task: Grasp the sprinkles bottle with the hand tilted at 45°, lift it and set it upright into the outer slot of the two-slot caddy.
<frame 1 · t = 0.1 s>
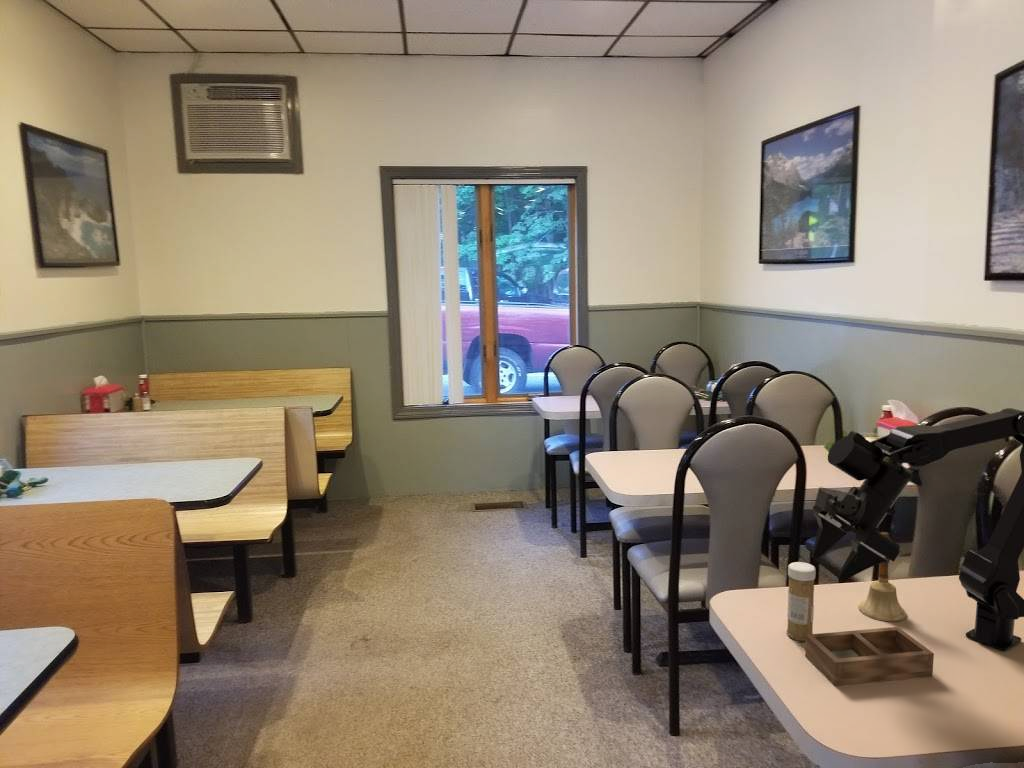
hand: (826, 568, 124), 15 cm above the table, tool tilted 35°, fingers open, 9 cm apart
sprinkles bottle: (799, 636, 130), on the table
hand bell: (881, 612, 139), on the table
slot caddy: (866, 666, 120), on the table
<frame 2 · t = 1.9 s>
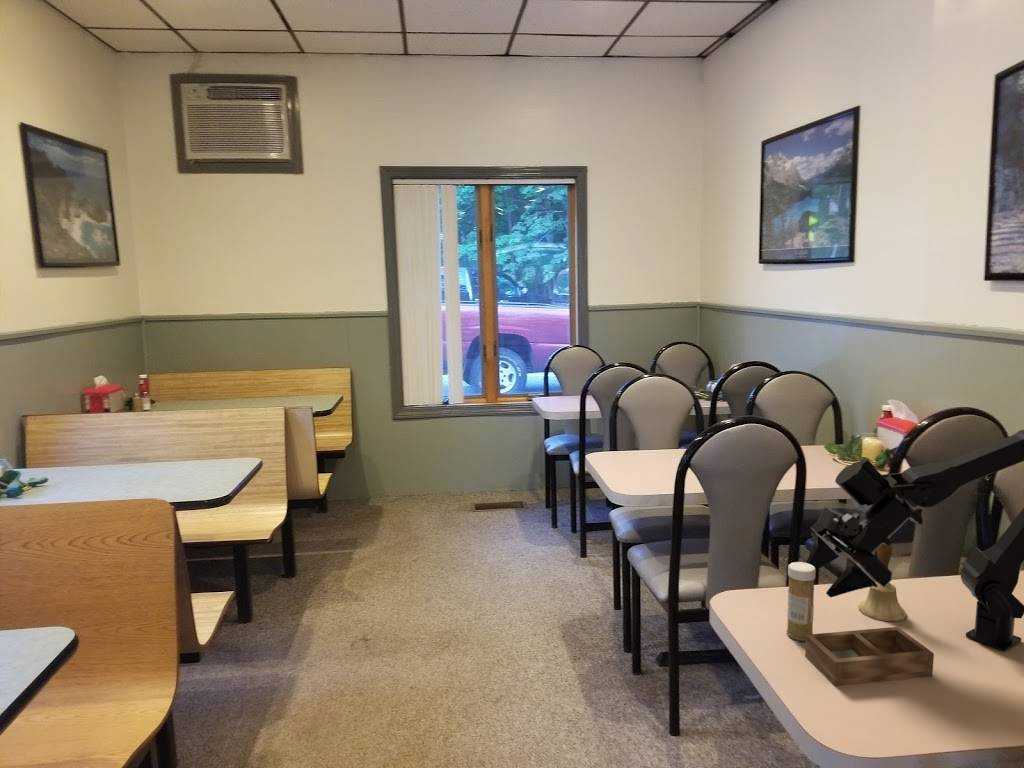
hand: (815, 584, 129), 10 cm above the table, tool tilted 45°, fingers open, 9 cm apart
nothing on the table moved.
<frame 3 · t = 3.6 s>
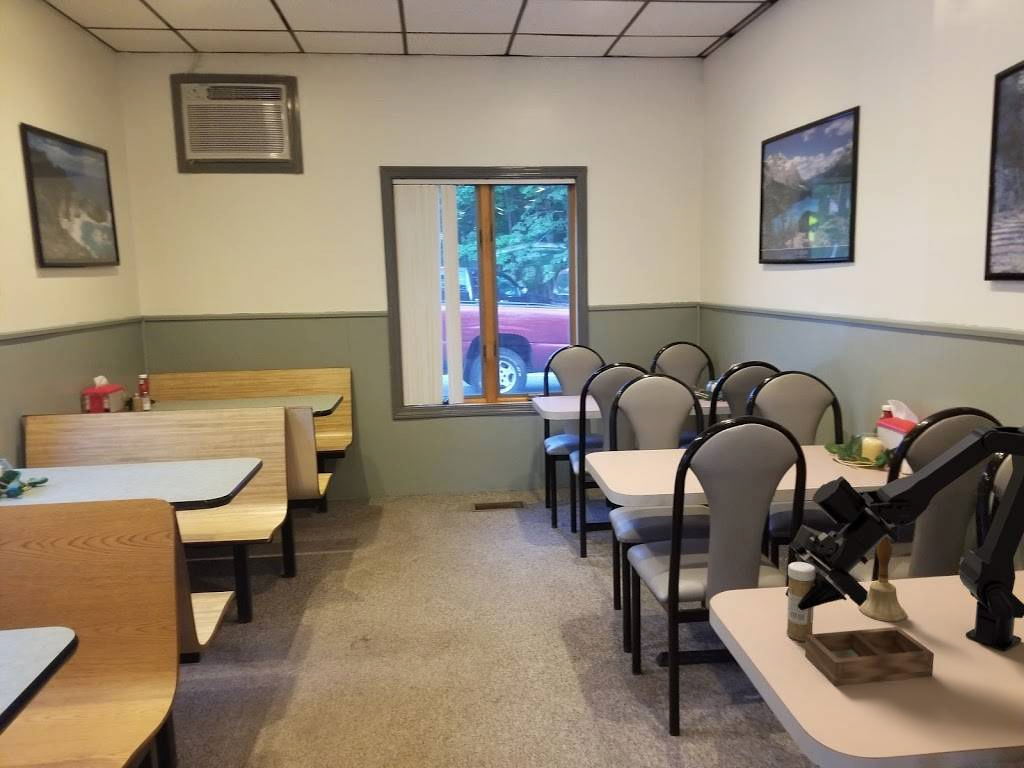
hand: (793, 602, 129), 7 cm above the table, tool tilted 45°, fingers closed on sprinkles bottle, 4 cm apart
sprinkles bottle: (799, 636, 130), on the table, touching gripper
everything else where it was.
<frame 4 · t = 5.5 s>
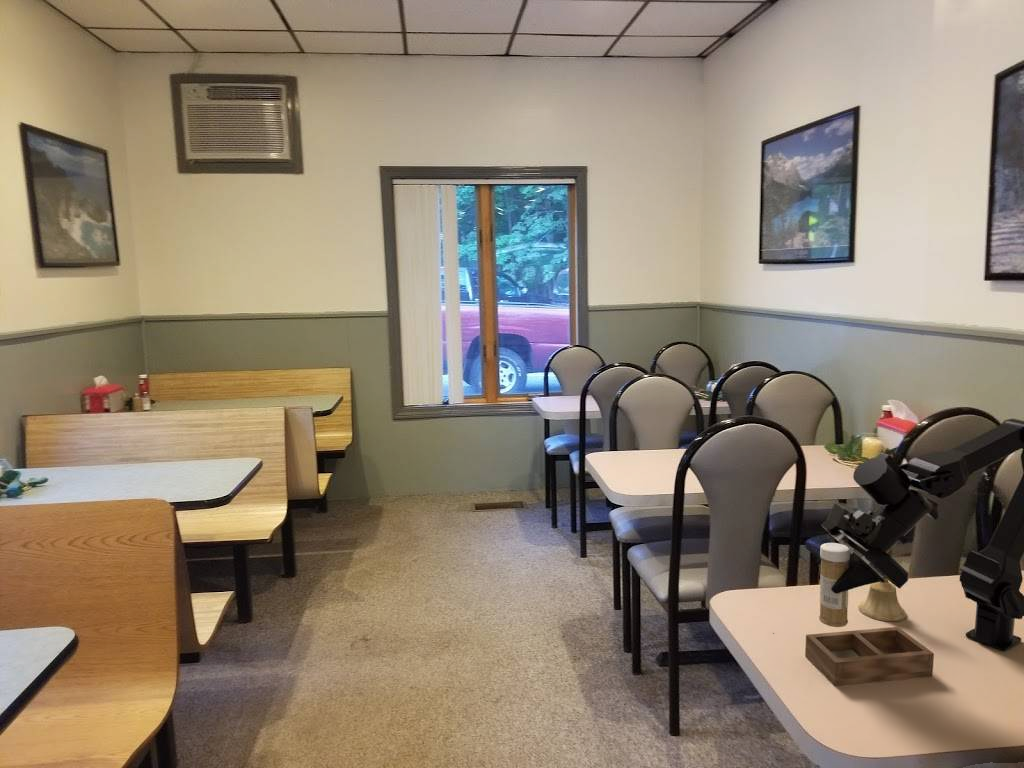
hand: (826, 585, 121), 13 cm above the table, tool tilted 45°, fingers closed on sprinkles bottle, 4 cm apart
sprinkles bottle: (833, 623, 122), point 6 cm above the table, touching gripper
everything else where it was.
when the fingers open (9 cm above the table, at t = 7.5 s): sprinkles bottle stays where it is, resting on slot caddy.
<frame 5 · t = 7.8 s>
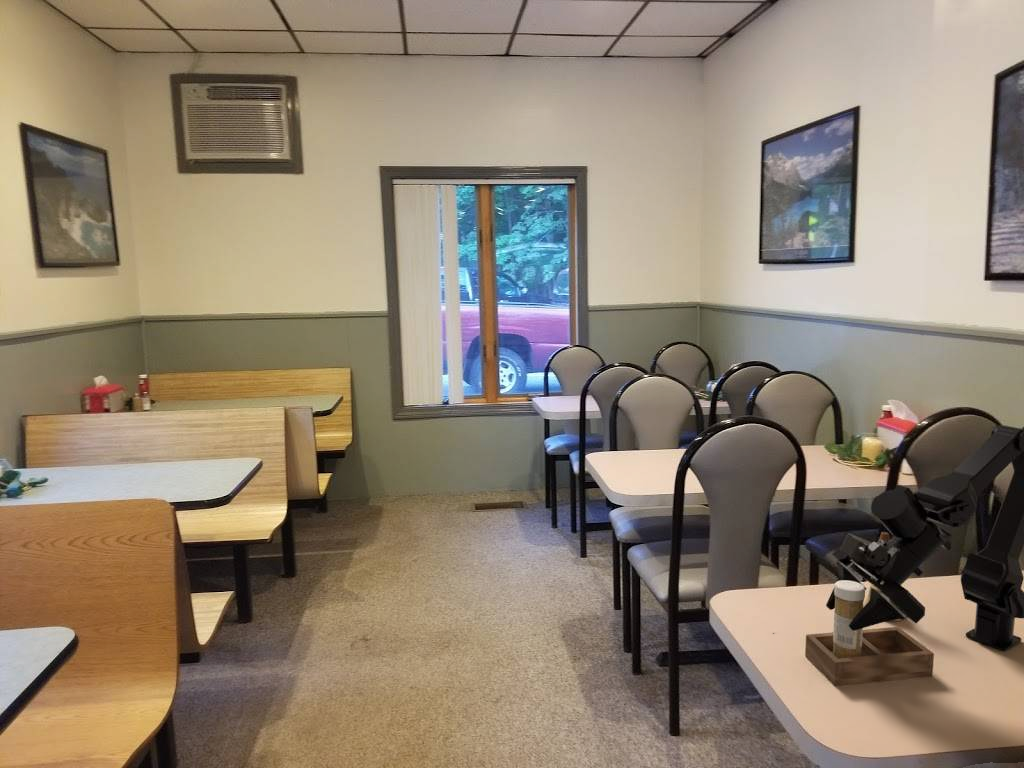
hand: (839, 617, 118), 9 cm above the table, tool tilted 45°, fingers open, 7 cm apart
sprinkles bottle: (846, 662, 119), point 1 cm above the table, touching slot caddy
everything else where it was.
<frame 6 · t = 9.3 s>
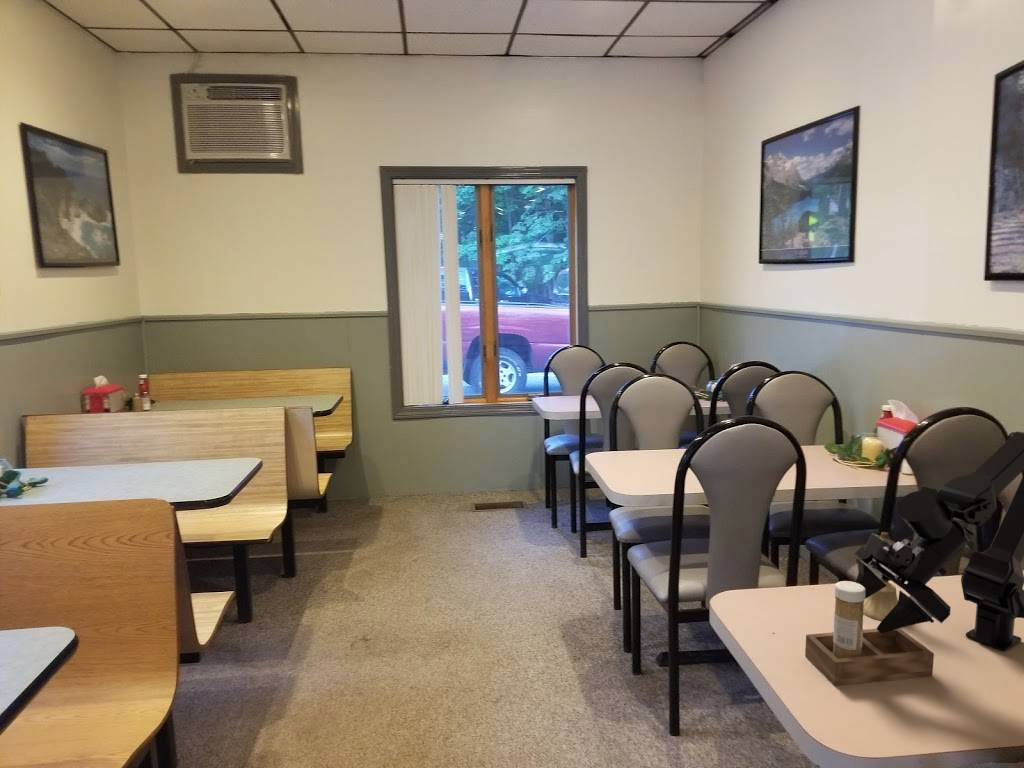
hand: (863, 617, 118), 9 cm above the table, tool tilted 45°, fingers open, 9 cm apart
nothing on the table moved.
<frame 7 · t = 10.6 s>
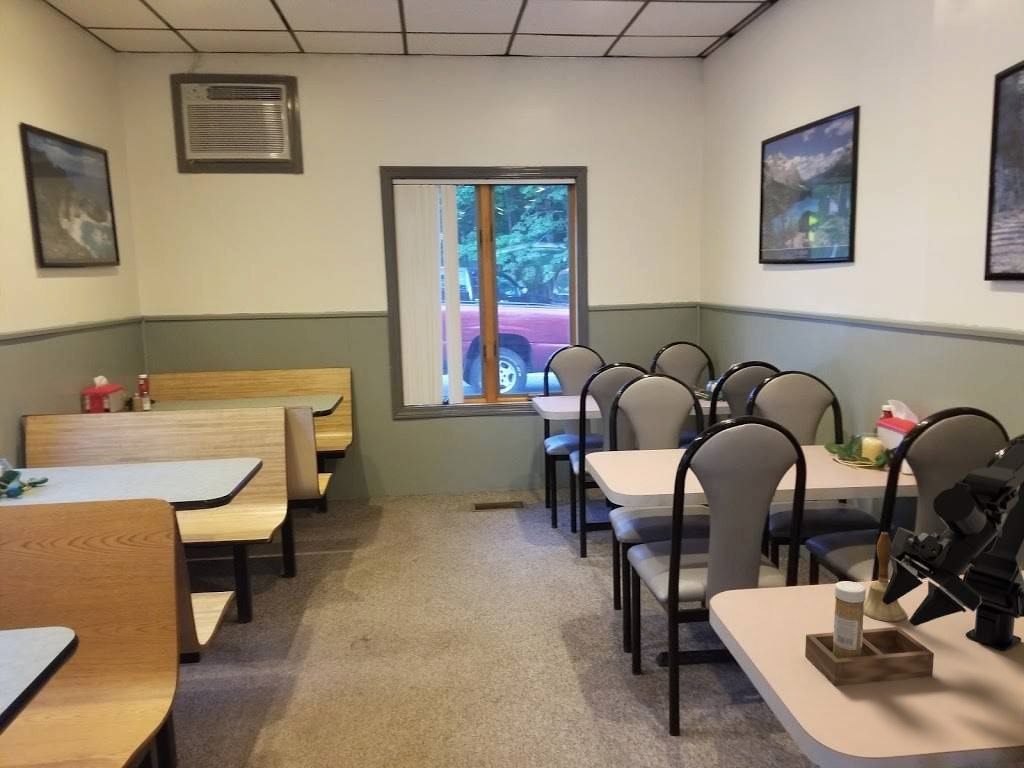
hand: (897, 613, 119), 9 cm above the table, tool tilted 40°, fingers open, 9 cm apart
nothing on the table moved.
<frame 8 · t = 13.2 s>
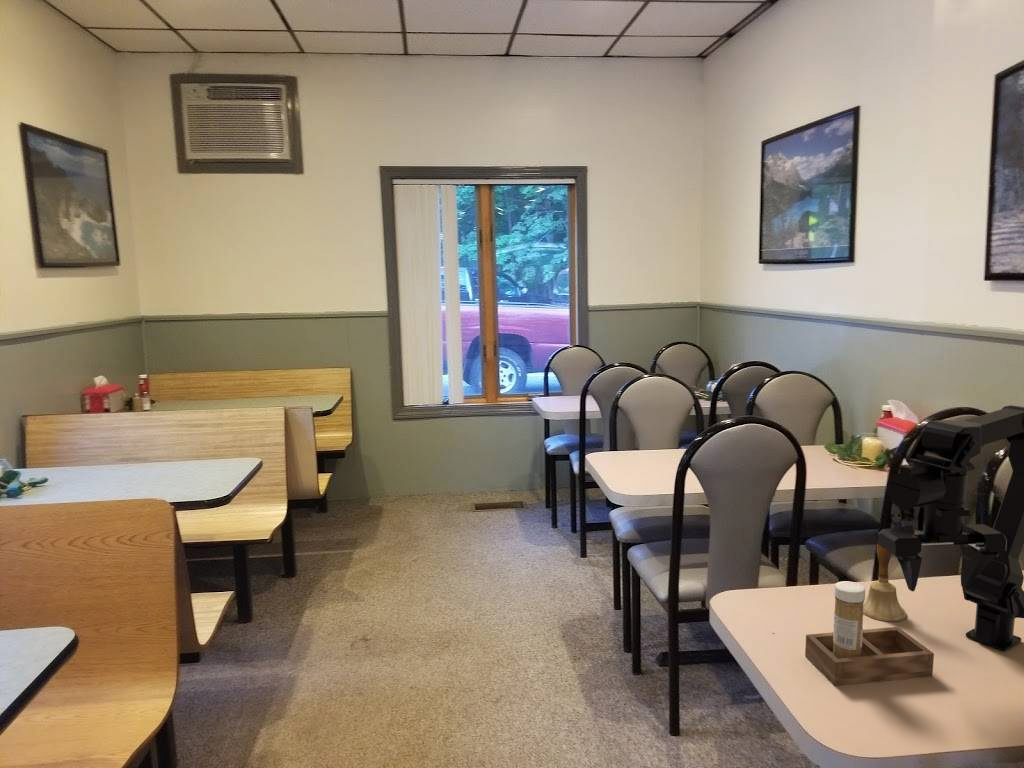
hand: (937, 588, 119), 13 cm above the table, tool pointing down, fingers open, 9 cm apart
nothing on the table moved.
at the end: sprinkles bottle 0.2 cm from the target spot, point 1.0 cm above the table; sprinkles bottle tilted 0°; the gripper is holding nothing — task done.
